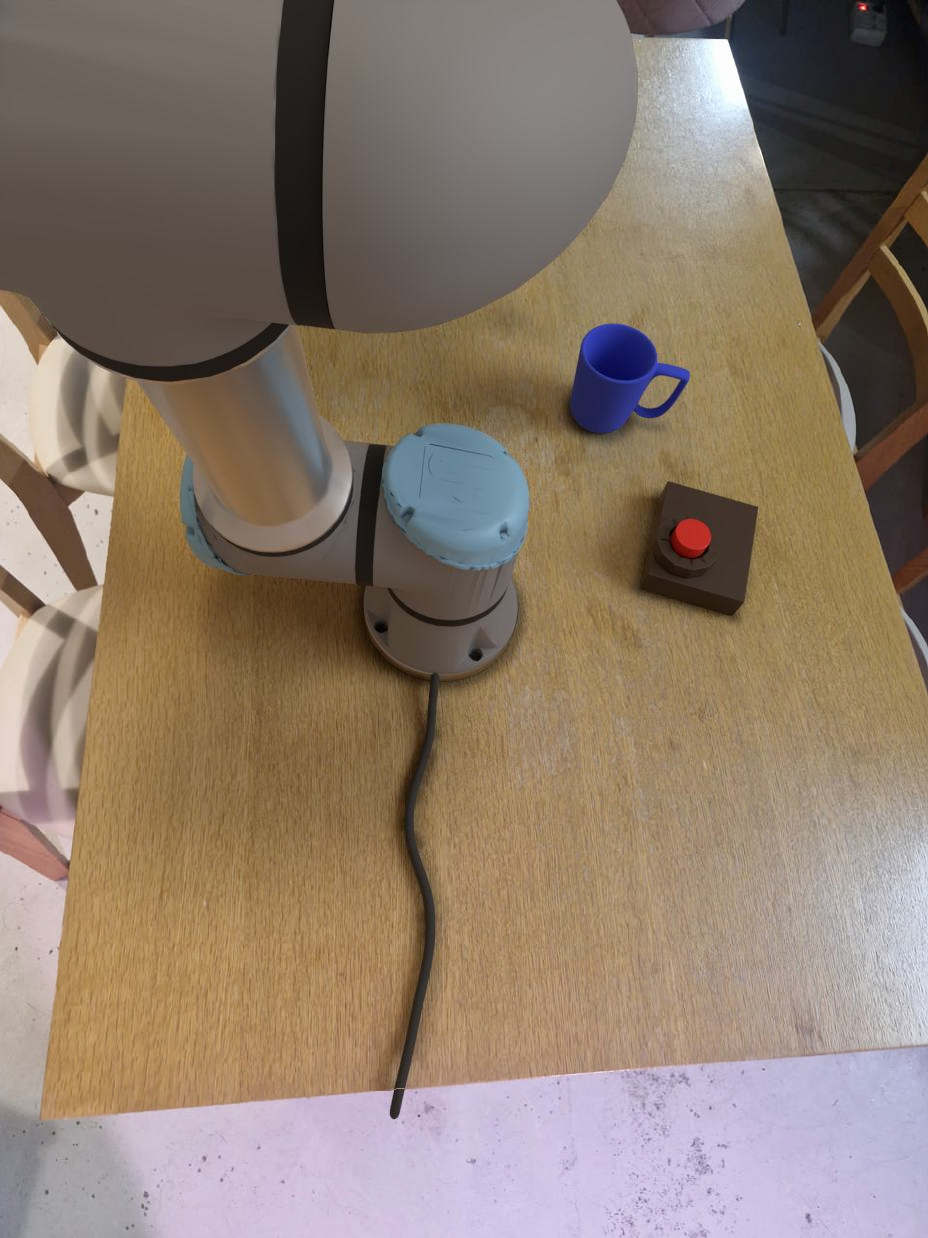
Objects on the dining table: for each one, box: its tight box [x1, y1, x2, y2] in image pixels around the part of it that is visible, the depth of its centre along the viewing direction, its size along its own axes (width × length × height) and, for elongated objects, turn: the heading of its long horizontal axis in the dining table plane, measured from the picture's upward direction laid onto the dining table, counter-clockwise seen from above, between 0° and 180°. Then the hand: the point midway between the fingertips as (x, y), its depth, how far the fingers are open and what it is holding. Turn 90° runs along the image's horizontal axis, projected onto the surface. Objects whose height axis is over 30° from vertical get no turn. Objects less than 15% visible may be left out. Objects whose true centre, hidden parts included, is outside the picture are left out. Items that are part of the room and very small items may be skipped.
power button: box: [671, 519, 711, 558], centre depth 85 cm, size 4×4×2 cm
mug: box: [569, 322, 691, 434], centre depth 93 cm, size 8×12×10 cm
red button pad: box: [639, 480, 759, 617], centre depth 89 cm, size 12×10×5 cm
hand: (567, 213), depth 77 cm, fingers open, 13 cm apart
